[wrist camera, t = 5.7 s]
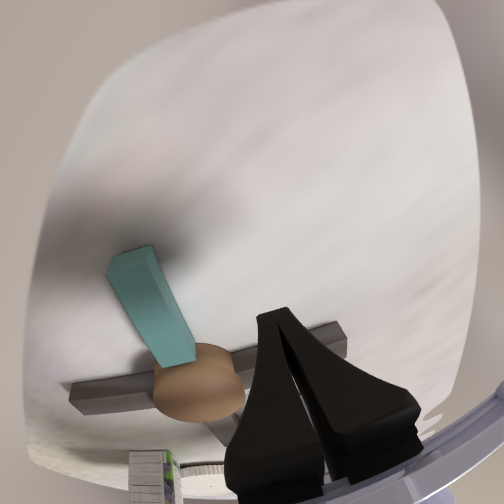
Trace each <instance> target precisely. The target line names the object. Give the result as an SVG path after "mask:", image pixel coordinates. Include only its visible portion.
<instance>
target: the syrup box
mask: <svg viewBox="0 0 504 504" xmlns="http://www.w3.org/2000/svg"><path fill="white" fill-rule="evenodd" d="M128 485H129V504H183V496H182V486H181V475H180V465H179V462H178V461H177V460H176V459H175V457H174V456H173V455H172V454H171V452H170V451H130V452H129V479H128Z"/></svg>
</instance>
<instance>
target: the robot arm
mask: <svg viewBox="0 0 504 504" xmlns="http://www.w3.org/2000/svg"><path fill="white" fill-rule="evenodd" d="M256 319H257V325H258V347H257V358H256V365H255V371H254V376H253V381H252V385H251V389H250V393H249V396H248V399H247V403H246V406H245V409H244V411H243V414H242V416H241V419H240V421H239V424H238V426H237V428H236V431H235V433H234V435H233V437H232V439H231V441H230V443H229V444H228V446H227V448H226V452H225V459H224V478H225V484H226V487H227V488H228V489H229V490H231V491H232V492H233V493H235V494H236V495H237V497H238V502H239V504H456V502H455V500H454V498H453V496H452V494H451V492H450V490H449V488H448V485H450V484H451V483H452V482H454V481H456V480H457V479H458V478H460V477H461V476H463V475H464V474H466V473H467V472H468V471H470V470H471V469H473V468H474V467H475V466H477V465H478V464H479V463H480V462H482V461H483V460H484V459H485V458H487V457H488V456H489V455H491V454H492V453H493V452H494V451H495V450H497V449H498V448H499V447H500V446H501V445H502V444H503V443H504V380H503V381H502V382H501V383H500V385H499V386H498V388H497V389H496V391H495V392H494V393H493V394H492V395H491V396H489V397H488V398H487V399H485V400H484V401H483V402H481V403H480V404H479V405H478V406H476V407H475V408H473V409H472V410H471V411H469V412H468V413H466V414H465V415H464V416H462V417H461V418H459V419H458V420H456V421H455V422H453V423H452V424H450V425H449V426H447V427H445V428H444V429H442V430H441V431H439V432H437V433H436V434H434V435H432V436H431V437H429V438H427V439H425V440H424V441H422V442H421V441H420V439H419V438H418V436H417V433H418V430H417V428H416V426H415V425H414V424H415V422H416V420H417V419H418V417H419V415H420V412H421V407H420V406H419V404H418V402H417V401H416V399H415V398H414V397H413V396H412V395H411V394H410V393H409V391H408V390H407V389H404V388H401V387H398V386H396V385H393V384H390V383H388V382H385V381H383V380H381V379H378V378H376V377H374V376H372V375H370V374H368V373H366V372H364V371H363V370H361V369H359V368H357V367H355V366H353V365H352V364H350V363H349V362H347V361H345V360H344V359H343V358H341V357H340V356H338V355H337V354H335V353H334V352H333V351H331V350H330V349H329V348H328V347H326V346H325V345H324V344H323V343H321V342H320V341H319V340H318V339H317V338H316V337H315V336H314V335H312V334H311V333H310V332H309V331H308V330H307V329H306V328H305V327H304V326H303V325H302V324H301V323H300V322H299V320H298V319H297V318H296V317H295V316H294V315H293V313H292V312H291V311H290V309H289V308H287V307H283V308H280V309H276V310H273V311H270V312H266V313H263V314H259V315H258V316H257V317H256ZM291 374H292V375H291ZM292 376H293V378H294V380H293V378H292ZM294 381H295V383H296V385H297V387H298V389H299V391H300V393H301V395H299V393H298V390H297V388H296V385H295V383H294Z"/></svg>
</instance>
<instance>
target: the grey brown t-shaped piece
mask: <svg viewBox="0 0 504 504" xmlns="http://www.w3.org/2000/svg"><path fill="white" fill-rule="evenodd" d="M309 332H310V333H311V334H312V335H314V336H315V337H316V338H317V339H318V340H319V341H320V342H321V343H323V344H324V345H325V346H326V347H328V348H329V349H330V350H331V351H333V352H334V353H335V354H337V355H338V356H340V357H341V358H343V359H344V358H346V356H347V337H346V335H345V334H344V332H343V330H342V328H341V327H340V325H339V323H338V322H337V321H336V322H333V323H331V324H328V325H325V326H322V327H319V328H316V329H313V330H310V331H309ZM257 347H258V346H257ZM257 347H253V348H250V349H246V350H242V351H238V352H235V353H230V352H228V351H227V350H225V349H223V348H221V347H218V346H215V345H210V344H203V343H195V350H196V361H192V362H188V363H183V364H179V365H174V366H170V367H165V368H162V367H161V365H160V364H159V363H158V361H157V360H156V363H155V366H154V371H151V372H146V373H140V374H135V375H129V376H123V377H117V378H110V379H104V380H97V381H90V382H82V383H74V384H72V387H71V391H70V396H69V400H68V401H69V402H70V403H71V404H72V405H73V406H74V407H75V408H77V409H78V410H79V411H80V412H81V413H82V414H83V415H96V414H108V413H118V412H127V411H135V410H143V409H150V408H157V409H158V410H159V411H160V412H161V413H163V414H164V415H166V416H168V417H170V418H173V419H176V420H180V421H185V422H196V423H198V422H205V423H206V425H207V426H208V427H209V428H210V430H211V431H212V432H213V433H214V434H215V436H216V437H217V438H218V439H219V441H220V442H221V443H222V444H223V445H224V446H225V447H227V446H228V444H229V443H230V441H231V439H232V437H233V435H234V433H235V431H236V428H237V426H238V424H239V421H240V420H239V418H238V416H237V415H236V413H235V412H236V411H237V410H239V409H240V408H241V406H242V405H243V403H244V401H245V392H244V390H245V389H249V388H251V385H252V381H253V376H254V371H255V365H256V358H257ZM291 375H292V374H291Z"/></svg>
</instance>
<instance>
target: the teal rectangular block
mask: <svg viewBox="0 0 504 504" xmlns="http://www.w3.org/2000/svg"><path fill="white" fill-rule="evenodd" d="M106 277H107V279H108V280H109V282H110V284H111V286H112V288H113V290H114V291H115V293H116V295H117V297H118V299H119V300H120V302H121V304H122V305H123V307H124V309H125V311H126V312H127V314H128V316H129V317H130V319H131V321H132V322H133V324H134V326H135V327H136V329H137V330H138V332H139V334H140V335H141V337H142V338H143V340H144V341H145V343H146V345H147V346H148V348H149V349H150V351H151V352H152V354H153V355H154V357H155V358H156V360H157V361H158V363H159V364H160V365H161V367H162V368H165V367H170V366H174V365H179V364H183V363H188V362H192V361H196V350H195V339H194V337H193V335H192V333H191V331H190V329H189V327H188V325H187V323H186V321H185V319H184V317H183V315H182V313H181V311H180V309H179V307H178V305H177V302H176V300H175V298H174V296H173V294H172V292H171V290H170V287H169V285H168V283H167V281H166V279H165V276H164V274H163V272H162V270H161V267H160V265H159V263H158V260H157V258H156V256H155V253H154V251H153V249H152V246H151V245H149V246H145V247H142V248H139V249H136V250H133V251H129V252H126V253H123V254H120V255H117V256H114V257H113V258H112V261H111V263H110V266H109V268H108V271H107V274H106Z"/></svg>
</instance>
